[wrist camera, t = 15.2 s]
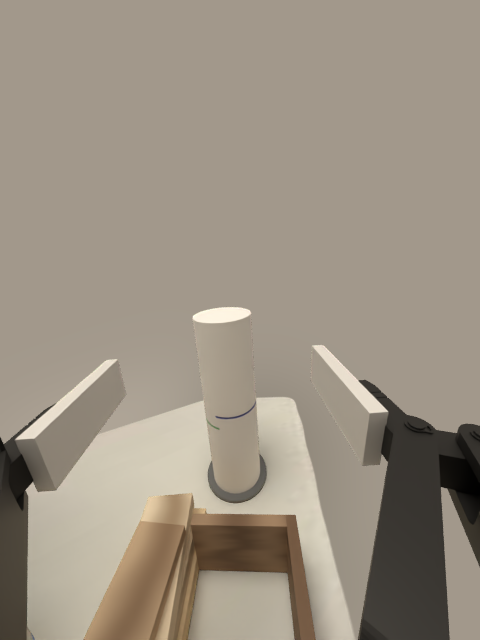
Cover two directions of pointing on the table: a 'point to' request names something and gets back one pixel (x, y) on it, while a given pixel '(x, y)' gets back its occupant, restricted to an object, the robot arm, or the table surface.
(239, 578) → the table surface
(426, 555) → the robot arm
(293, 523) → the offcut rack
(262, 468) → the rubber mat
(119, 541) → the table surface
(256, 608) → the table surface
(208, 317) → the cylindrical container
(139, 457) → the table surface
